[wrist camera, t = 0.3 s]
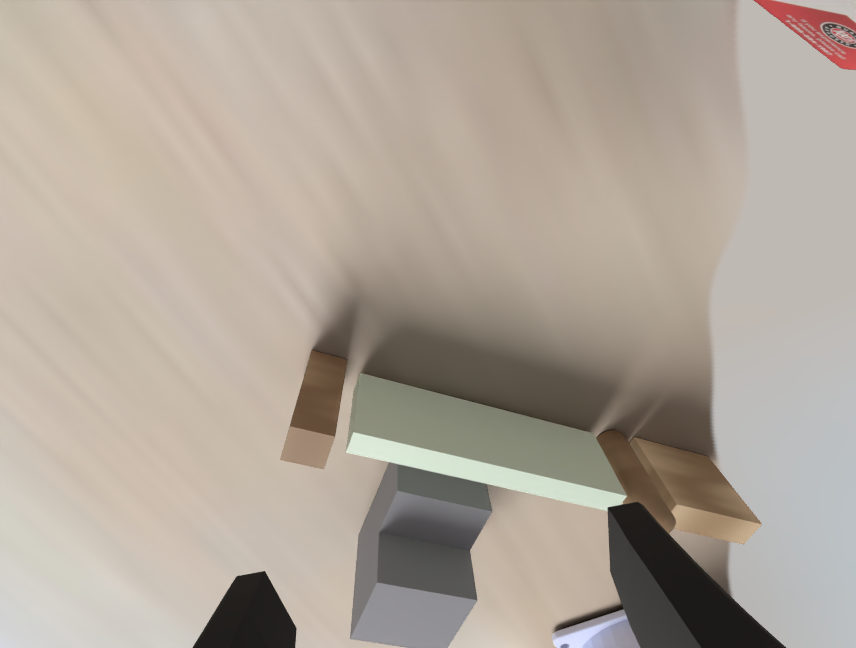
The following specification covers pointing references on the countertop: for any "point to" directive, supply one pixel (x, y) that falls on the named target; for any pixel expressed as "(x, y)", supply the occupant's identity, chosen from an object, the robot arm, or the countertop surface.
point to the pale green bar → (479, 443)
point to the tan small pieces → (631, 462)
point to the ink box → (821, 25)
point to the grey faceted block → (417, 558)
